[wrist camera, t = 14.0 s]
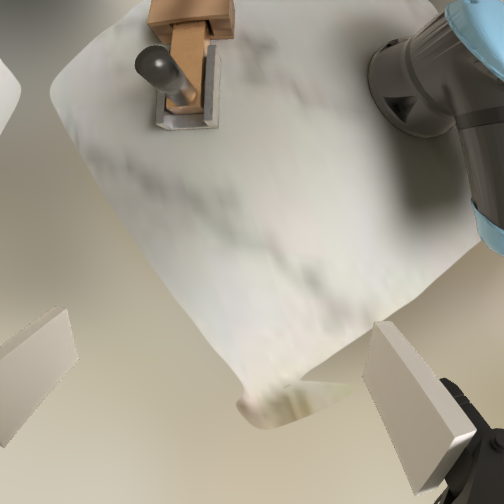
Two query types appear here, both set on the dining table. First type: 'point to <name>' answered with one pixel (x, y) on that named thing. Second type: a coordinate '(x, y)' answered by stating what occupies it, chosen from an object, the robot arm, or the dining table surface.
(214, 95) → the channel
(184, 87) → the mallet
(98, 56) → the dining table surface
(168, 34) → the socket block
